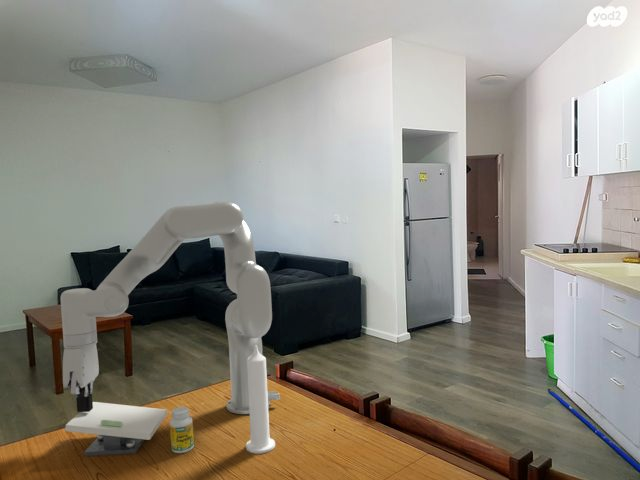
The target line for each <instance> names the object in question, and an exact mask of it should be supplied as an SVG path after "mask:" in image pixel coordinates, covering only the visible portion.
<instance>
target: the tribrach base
mask: <svg viewBox="0 0 640 480" xmlns="http://www.w3.org/2000/svg"><path fill="white" fill-rule="evenodd" d="M96 435H97V436H96V437H97V438H96V439H95V440H93V442H92V443H91V444H90V445H89V446H88V447H87V448H86V449H85V450H84V457H89V456H91V457H92V456H109V455H111V456H113V455H132V454H133V455H134V454H136V453H137V451H138V450H139V449H140V447H141V446H142V445H143V443H144V442H145V440H146V439H136V438H127V437H117V436H108V435H98V434H96Z"/></svg>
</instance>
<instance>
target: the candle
mask: <svg viewBox="0 0 640 480" xmlns="http://www.w3.org/2000/svg"><path fill="white" fill-rule="evenodd" d="M247 372H248V392H249V412H250V414H249V426H250V427H249V429H250V439H249V440H248V441H247V442H246V443H245V449H246V451H247V452H249V453H251V454H256V455H258V454H260V455H261V454H265V453H269V452H271V451H272V450H273V449H274V448H275V447H276V441H275V439H273V438H271V437H270V417H269V415H270V414H269V407H268V392H267V391H268V375H267V374H268V373H267V358H266V356H264V354H262V355H261V354H260V353H259V351H258V348H257V345H255V347H254V352H253V354H252V355H251V356H250V357H249V358H248V359H247Z"/></svg>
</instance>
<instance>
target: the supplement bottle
mask: <svg viewBox="0 0 640 480" xmlns="http://www.w3.org/2000/svg"><path fill="white" fill-rule="evenodd" d="M171 417H172V418H171V419H170V421H169V431H170V432H169V433H170V435H169V436H170V445H171V451H172V452H173V453H175V454H183V453H184V454H185V453H188V452H190V451H191V450H192V449H194V446H195V440H194V439H195V438H194V425H193V424H194V423H193V422H194V421H193V418H192V416H190V409H189V407H187V406H179V407H176V408H174V409H172V410H171Z"/></svg>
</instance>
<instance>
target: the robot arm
mask: <svg viewBox="0 0 640 480" xmlns="http://www.w3.org/2000/svg"><path fill="white" fill-rule="evenodd" d="M215 236H219V238H220V239H221V242H222V243H223V244H222V245H223V250H224V263H225V280H226V281H225V282H226V285H227V287H228V289H229V290H230V291H231V292H233V293H234V294H236V299H234V300H232V301H231V302H229V305H228V306H227V307H226V310H225V316H224V317H225V318H224V321H225V327H226V328H225V329H226V332H227V333H226V334H227V341H228V355H229V357H228V359H229V372H230V373H229V374H230V375H229V376H230V377H229V378H230V392H231V393H230V394H231V398H230V399H229V400H228V401H227V402H226V410H227V411H228V412H230V413H232V414H237V415H250V412H249V392H248V372H247V359H248V358H249V357H250V356H251V355H252V354H253V352H254V347H255V345H257V348H258V351H259V353H260V354H261V355H263V340H262V337H263V336H265V335H266V334H267V333H268V331H269V330H270V328H271V325H272V321H273V311H272V310H273V308H272V305H273V304H272V292H271V290H272V289H271V281H270V277H269V274H268V273H267V271H266V269H264V268H263V267H262V266H260V265H259V264H257V261H256V251H255V243H254V237H253V234H252V232H251V229H250V227H249V226H248V224H247V223H246V221H245V220H244V214H243V211H242V209H241V207H240V206H238V205H237V204H236V203H234V202H230V201H219V202H212V203H206V204H196V205H194V204H193V205H179V206H178V205H177V206H172V207H170V208H169V209H167V210H166V211H165V212H164V213H163V214H162V215H161V216H160V217H159V218H158V219H157V220H156V221H155V223H154V224H153V225H152V227H150V228H149V230H148V231H147V233H146V234H145V235H144V236H143V237H142V238H141V239H140V240H139V241H138V242H137V244H135V246H134V247H133V248H132V249H131V250H129V252H128V253H127V254H126V255H125V256H124V258H123V259H122V260H121V261H120V262H119V263H117V265H116V266H115V267H114V268H113V269H112V270H111V272H110V273H109V274H108V275H107V276H106V277H105V278H104V280H102V281H101V282H100V284H99V285H98V286H97V287H96V289H95V290H92V289H90V288H87V287H86V288H85V287H83V288H71V289H67V290H64V291H63V292H62V293H61V295H60V310H61V321H62V322H61V324H62V338H63V339H62V340H63V342H62V343H63V356H62V357H63V358H62V384H63V385H62V386H63V389H69V388H70V395H71V396H72V395H73V396H75V398H76V399H75V400H76V412H77V413H80V412H90V411H91V410H92V409H93V402H94V401H93V389H94V388H93V385H94V382H95V380H96V378H97V377H98V376H99V374H100V372H99V371H100V368H99V366H100V365H99V355H98V353H99V352H98V349H97V343H98V332H97V331H98V330H97V318H101V317H102V318H113V317H114V318H115V317H118V316H120V315H122V314H124V312H126V310H127V309H128V308H129V302H130V301H129V300H130V299H129V295H130V294H131V292H132V291H133V290H134V289H135V288H136V286H137V285H139V283H140V282H141V281H142V280H144V279H145V278H146V277H147V276H149V275H150V274H153V273H154V272H157V271H158V270H160V268H161V267H162V266H163V265H165V263H166V262H167V261H168V260H169V259H170V257H171V256H172V255H173V254H174V253H175V251H176V250H177V249H178V247H180V245H182V243H183V242H184V241H185V240H189V239H190V240H191V239H201V238H208V237H215ZM267 392H268V408H269V407H270V406H271V401H279V400H280V398H281V396H280V395H281V394H280V392H277V391H276V390H271V391H270V390H267Z"/></svg>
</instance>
